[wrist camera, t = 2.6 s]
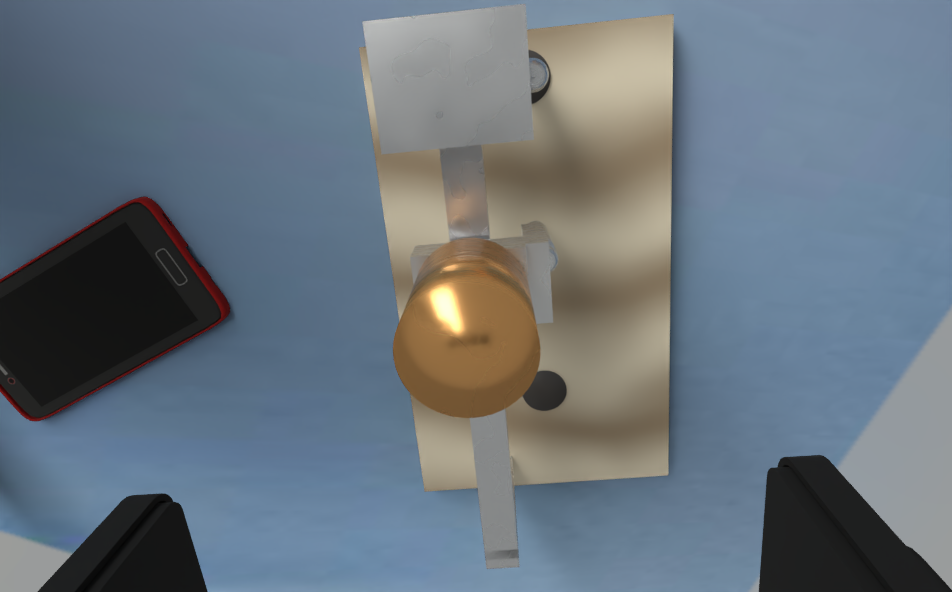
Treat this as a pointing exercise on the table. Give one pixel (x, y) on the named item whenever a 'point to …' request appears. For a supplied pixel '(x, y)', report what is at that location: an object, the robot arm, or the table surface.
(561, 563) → the table surface
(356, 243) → the table surface
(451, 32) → the frame
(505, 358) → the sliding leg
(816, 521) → the robot arm
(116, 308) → the cell phone
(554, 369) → the hole plate
